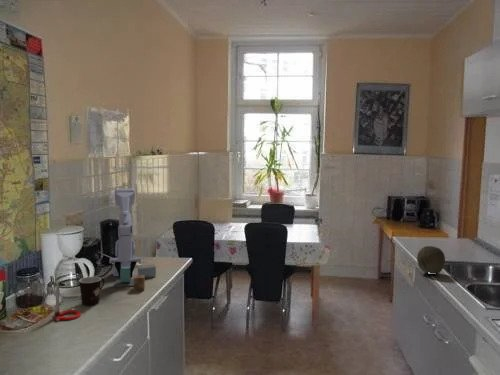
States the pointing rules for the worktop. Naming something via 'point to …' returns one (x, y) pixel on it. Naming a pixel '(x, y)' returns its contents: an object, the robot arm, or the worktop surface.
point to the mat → (124, 283)
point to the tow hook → (58, 314)
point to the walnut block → (139, 282)
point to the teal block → (125, 274)
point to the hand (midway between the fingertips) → (125, 277)
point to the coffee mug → (90, 290)
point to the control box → (147, 270)
